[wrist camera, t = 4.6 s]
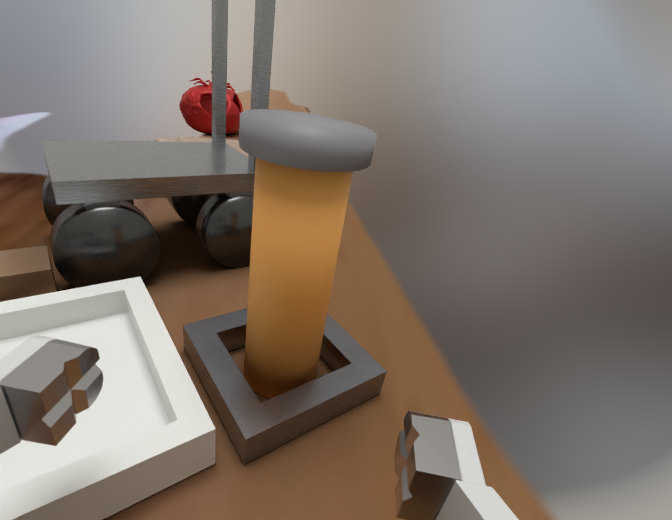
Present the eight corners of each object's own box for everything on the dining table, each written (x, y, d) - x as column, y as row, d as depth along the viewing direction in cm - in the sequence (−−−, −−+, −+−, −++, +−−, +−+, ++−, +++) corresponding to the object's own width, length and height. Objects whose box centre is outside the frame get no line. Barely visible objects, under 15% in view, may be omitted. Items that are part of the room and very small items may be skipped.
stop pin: (258, 427, 16) (284, 139, 10) (216, 356, 19) (217, 105, 13) (346, 386, 19) (404, 141, 13) (296, 329, 22) (326, 112, 16)
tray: (-299, 719, 8) (-369, 689, 7) (-154, 372, 15) (-179, 334, 14) (215, 463, 14) (215, 428, 13) (143, 305, 22) (140, 276, 21)
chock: (2, 318, 19) (-12, 278, 18) (2, 290, 21) (-10, 252, 20) (60, 307, 20) (51, 269, 19) (55, 281, 22) (46, 245, 21)
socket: (244, 464, 14) (245, 439, 14) (184, 348, 19) (183, 325, 18) (380, 393, 19) (386, 371, 18) (303, 312, 23) (305, 292, 23)
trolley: (63, 302, 21) (-48, -184, 12) (50, 234, 27) (-31, -124, 18) (275, 260, 28) (303, -54, 20) (227, 214, 34) (233, -42, 26)
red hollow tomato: (169, 126, 62) (164, 64, 58) (219, 124, 70) (218, 68, 65) (206, 140, 58) (204, 72, 53) (255, 135, 65) (257, 76, 61)
